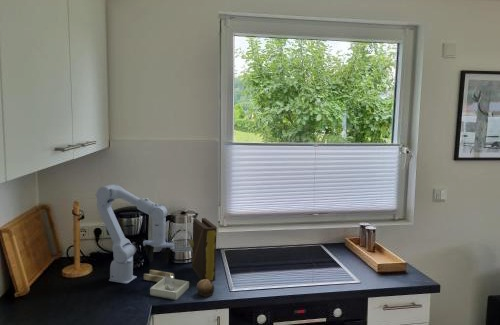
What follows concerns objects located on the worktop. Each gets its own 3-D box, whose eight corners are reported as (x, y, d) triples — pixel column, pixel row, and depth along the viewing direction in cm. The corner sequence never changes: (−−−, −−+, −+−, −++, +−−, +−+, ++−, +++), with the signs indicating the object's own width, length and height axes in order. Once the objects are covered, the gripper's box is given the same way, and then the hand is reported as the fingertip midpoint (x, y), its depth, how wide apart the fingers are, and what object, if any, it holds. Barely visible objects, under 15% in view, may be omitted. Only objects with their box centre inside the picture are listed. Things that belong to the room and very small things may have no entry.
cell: (163, 291, 159) (163, 275, 159) (167, 287, 163) (167, 272, 162) (171, 292, 158) (171, 276, 158) (176, 288, 162) (176, 273, 161)
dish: (150, 295, 157) (150, 288, 156) (164, 284, 168) (164, 277, 168) (176, 299, 154) (176, 292, 153) (188, 288, 165) (188, 281, 165)
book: (218, 280, 174) (220, 227, 172) (201, 283, 171) (202, 229, 169) (204, 264, 194) (205, 216, 192) (188, 266, 191) (189, 217, 188)
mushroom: (193, 282, 163) (199, 274, 160) (209, 287, 166) (216, 279, 163) (192, 298, 157) (199, 289, 154) (209, 303, 159) (216, 294, 157)
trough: (143, 279, 172) (143, 274, 172) (150, 274, 178) (150, 269, 178) (167, 283, 169) (167, 278, 169) (173, 278, 175) (173, 273, 174)
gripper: (139, 233, 165) (139, 263, 166) (169, 237, 161) (168, 268, 162) (148, 229, 172) (147, 258, 173) (177, 233, 168) (176, 262, 169)
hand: (158, 262), depth 168 cm, fingers open, 7 cm apart
